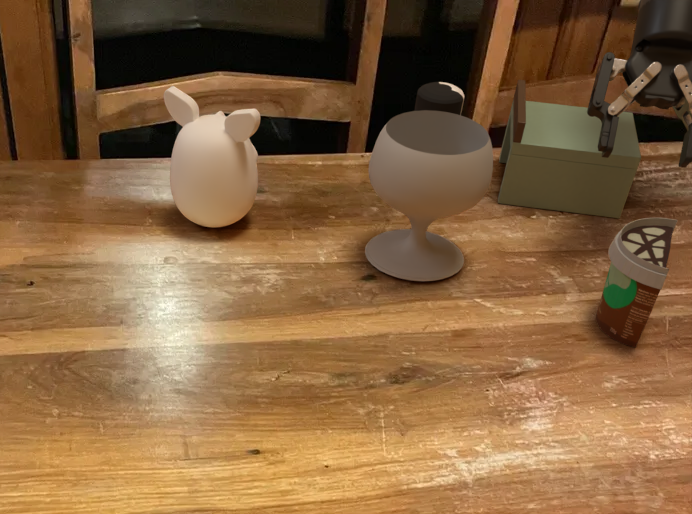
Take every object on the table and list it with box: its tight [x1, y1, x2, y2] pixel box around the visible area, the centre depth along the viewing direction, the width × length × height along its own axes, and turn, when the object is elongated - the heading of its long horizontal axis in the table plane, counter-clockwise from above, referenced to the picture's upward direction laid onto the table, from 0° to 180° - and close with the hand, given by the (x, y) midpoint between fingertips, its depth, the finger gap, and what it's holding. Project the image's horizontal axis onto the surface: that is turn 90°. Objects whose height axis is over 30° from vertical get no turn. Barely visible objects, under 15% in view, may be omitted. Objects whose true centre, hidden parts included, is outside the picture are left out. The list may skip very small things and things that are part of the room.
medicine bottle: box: [413, 81, 465, 116], centre depth 124 cm, size 7×7×12 cm
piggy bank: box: [163, 85, 261, 228], centre depth 114 cm, size 12×12×15 cm
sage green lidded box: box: [497, 79, 642, 219], centre depth 124 cm, size 16×14×10 cm
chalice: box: [364, 110, 494, 282], centre depth 109 cm, size 14×14×15 cm
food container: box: [595, 217, 678, 348], centre depth 103 cm, size 12×6×10 cm, turn 159°
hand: (645, 159), depth 104 cm, fingers open, 8 cm apart
